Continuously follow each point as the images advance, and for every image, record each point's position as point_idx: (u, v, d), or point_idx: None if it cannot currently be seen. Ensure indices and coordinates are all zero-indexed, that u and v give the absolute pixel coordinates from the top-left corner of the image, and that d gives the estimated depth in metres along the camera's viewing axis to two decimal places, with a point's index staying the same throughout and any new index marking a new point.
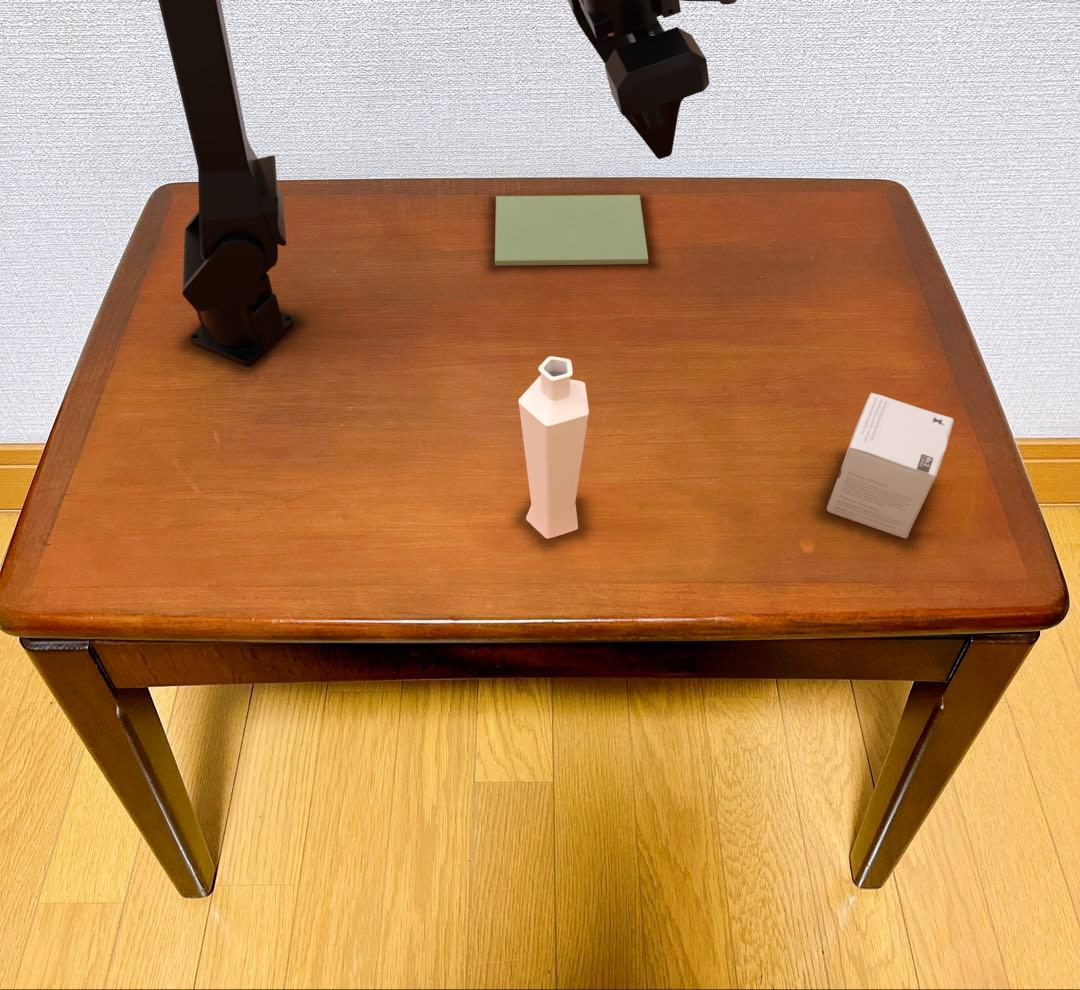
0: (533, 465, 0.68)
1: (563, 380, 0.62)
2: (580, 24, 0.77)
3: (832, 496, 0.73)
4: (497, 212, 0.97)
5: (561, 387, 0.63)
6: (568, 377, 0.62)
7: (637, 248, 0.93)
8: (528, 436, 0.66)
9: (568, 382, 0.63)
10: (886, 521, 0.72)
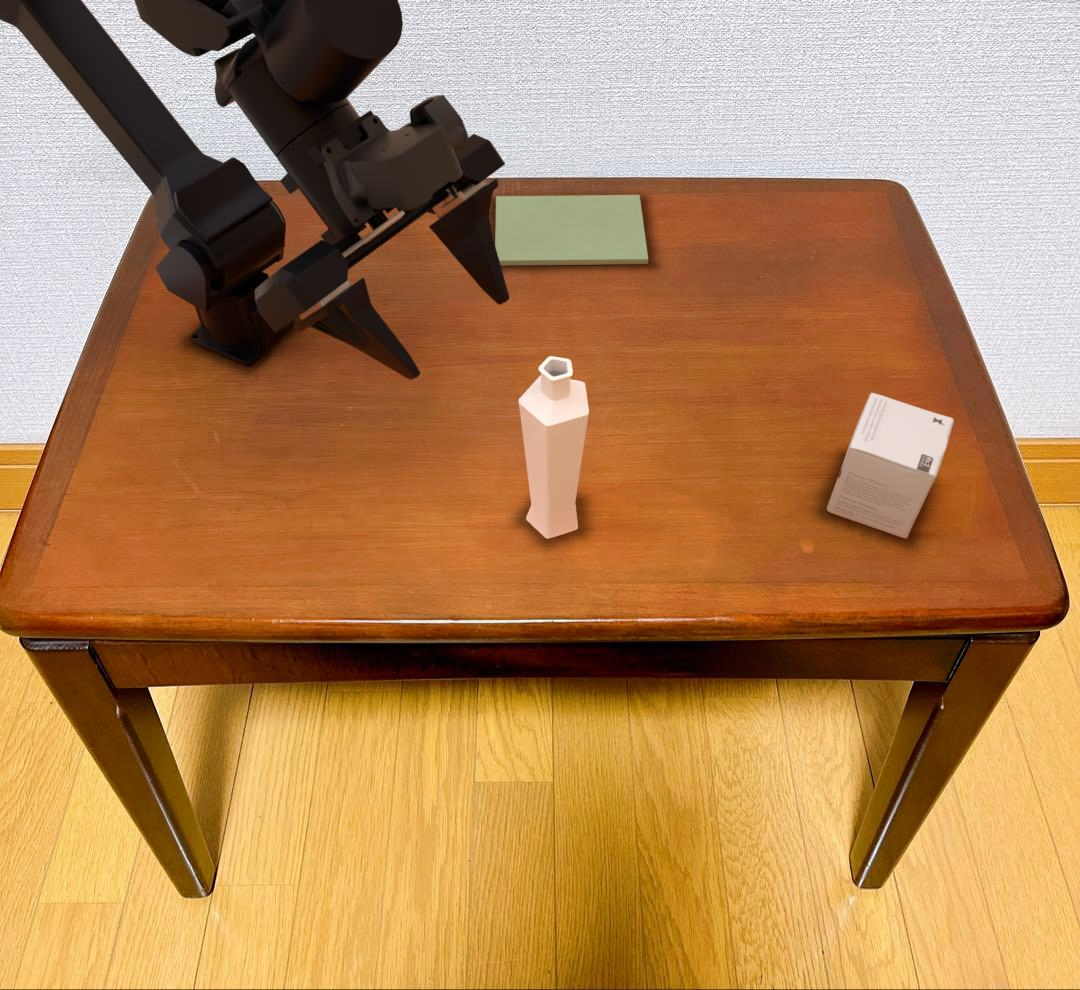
0: (533, 464, 0.68)
1: (563, 380, 0.62)
2: (431, 228, 0.70)
3: (832, 496, 0.73)
4: (497, 212, 0.97)
5: (561, 387, 0.63)
6: (568, 377, 0.62)
7: (637, 248, 0.93)
8: (528, 436, 0.66)
9: (568, 382, 0.63)
10: (886, 521, 0.72)
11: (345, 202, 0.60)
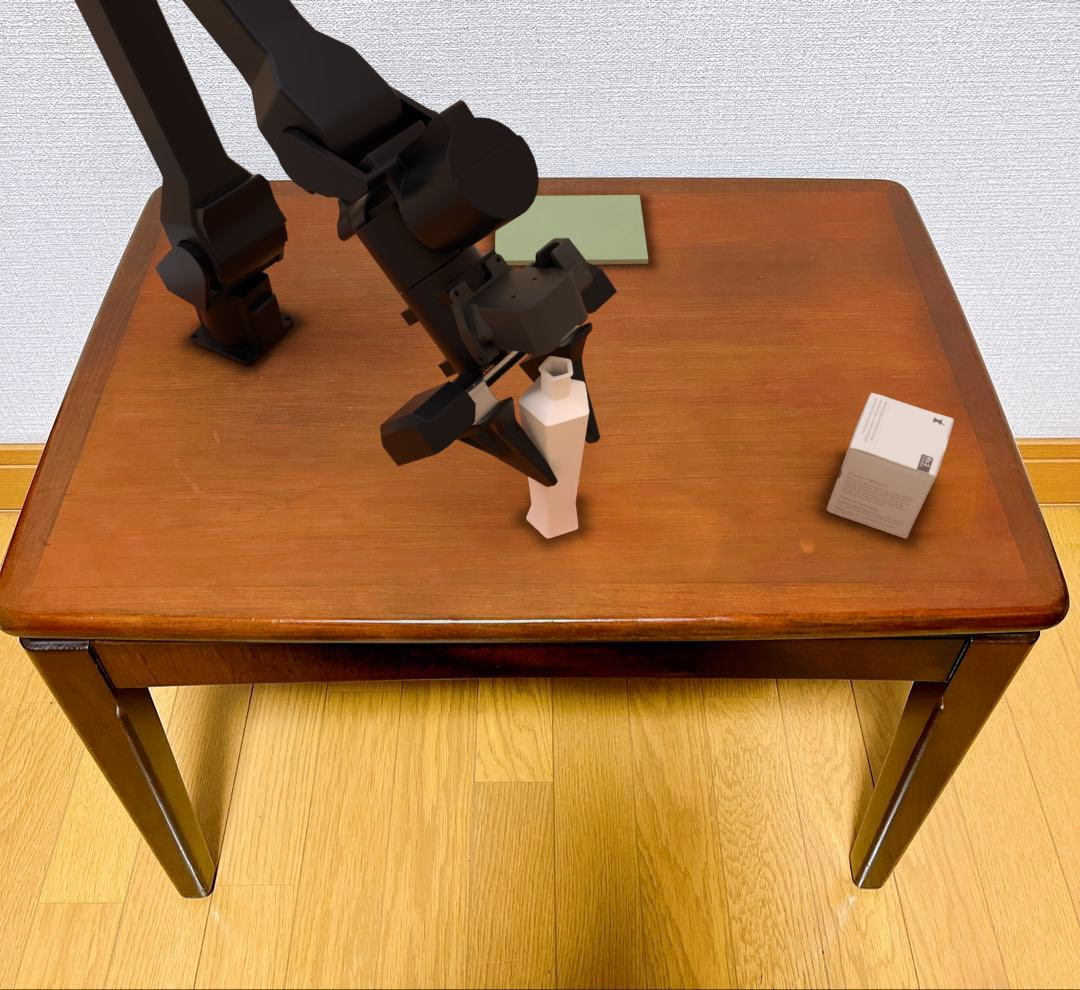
0: None
1: (563, 380, 0.62)
2: (520, 366, 0.70)
3: (832, 496, 0.73)
4: None
5: (561, 387, 0.63)
6: (568, 377, 0.62)
7: (637, 248, 0.93)
8: (528, 436, 0.66)
9: (568, 382, 0.63)
10: (886, 521, 0.72)
11: (471, 342, 0.61)
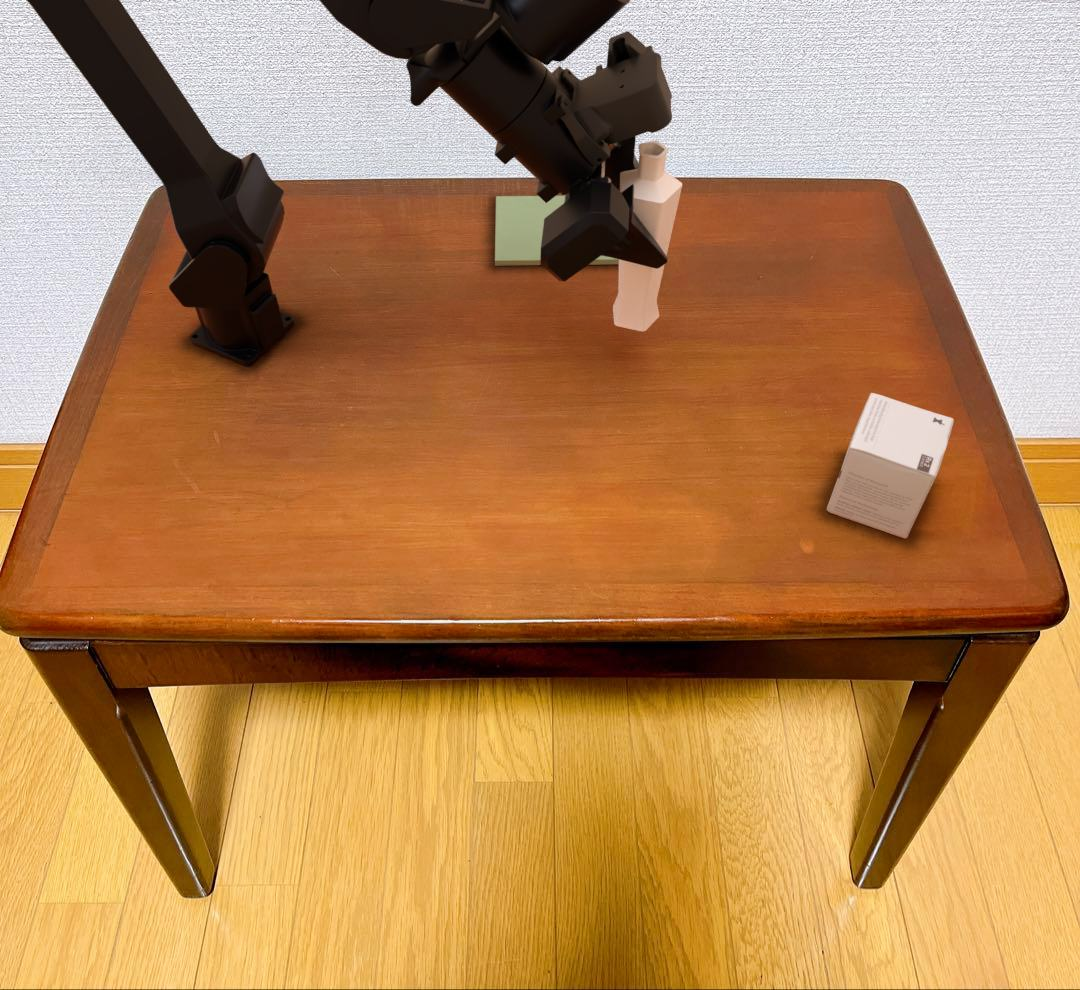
0: None
1: (664, 157, 0.70)
2: None
3: (832, 496, 0.73)
4: (497, 212, 0.97)
5: (662, 165, 0.71)
6: (666, 153, 0.70)
7: None
8: None
9: (665, 158, 0.71)
10: (886, 521, 0.72)
11: (590, 145, 0.67)
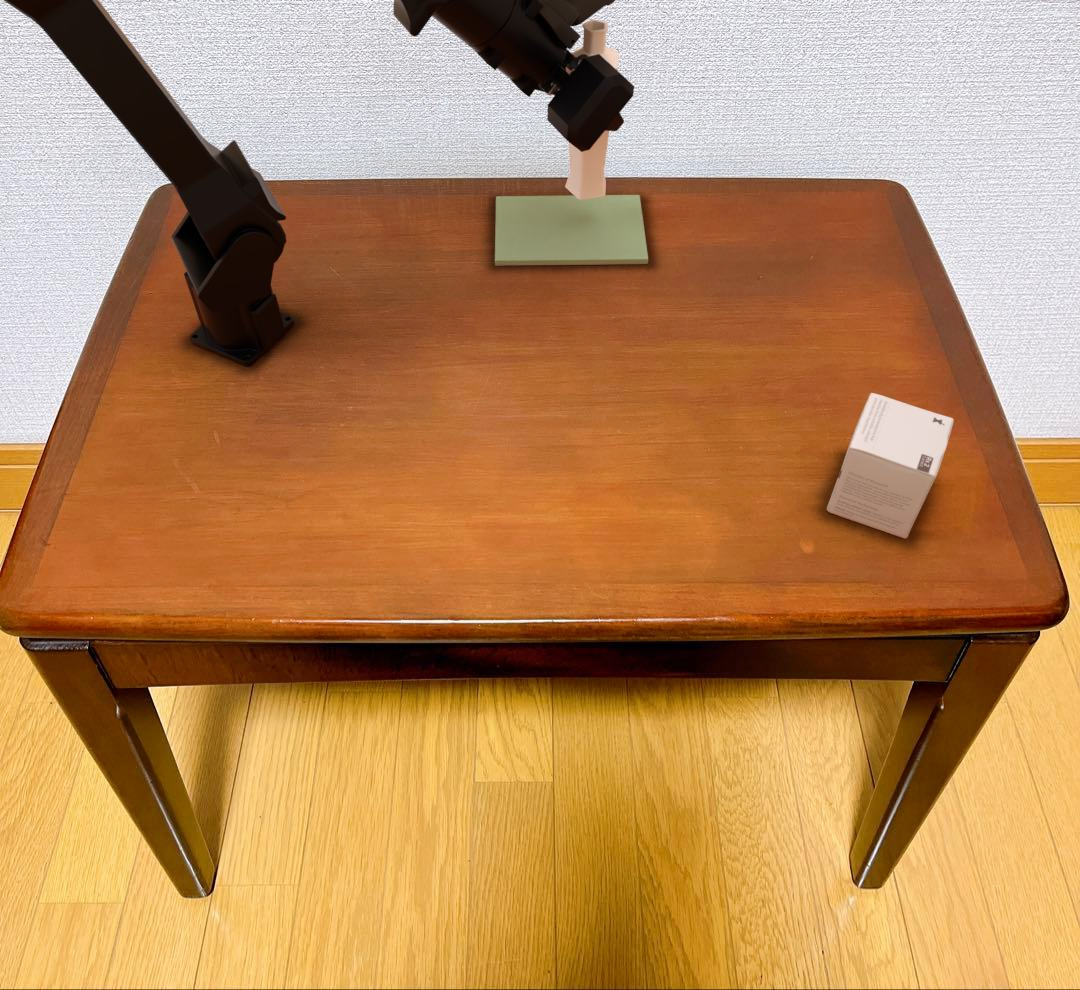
0: None
1: None
2: None
3: (832, 496, 0.73)
4: (497, 212, 0.97)
5: (605, 37, 0.82)
6: None
7: (637, 248, 0.93)
8: None
9: None
10: (886, 521, 0.72)
11: (565, 30, 0.77)
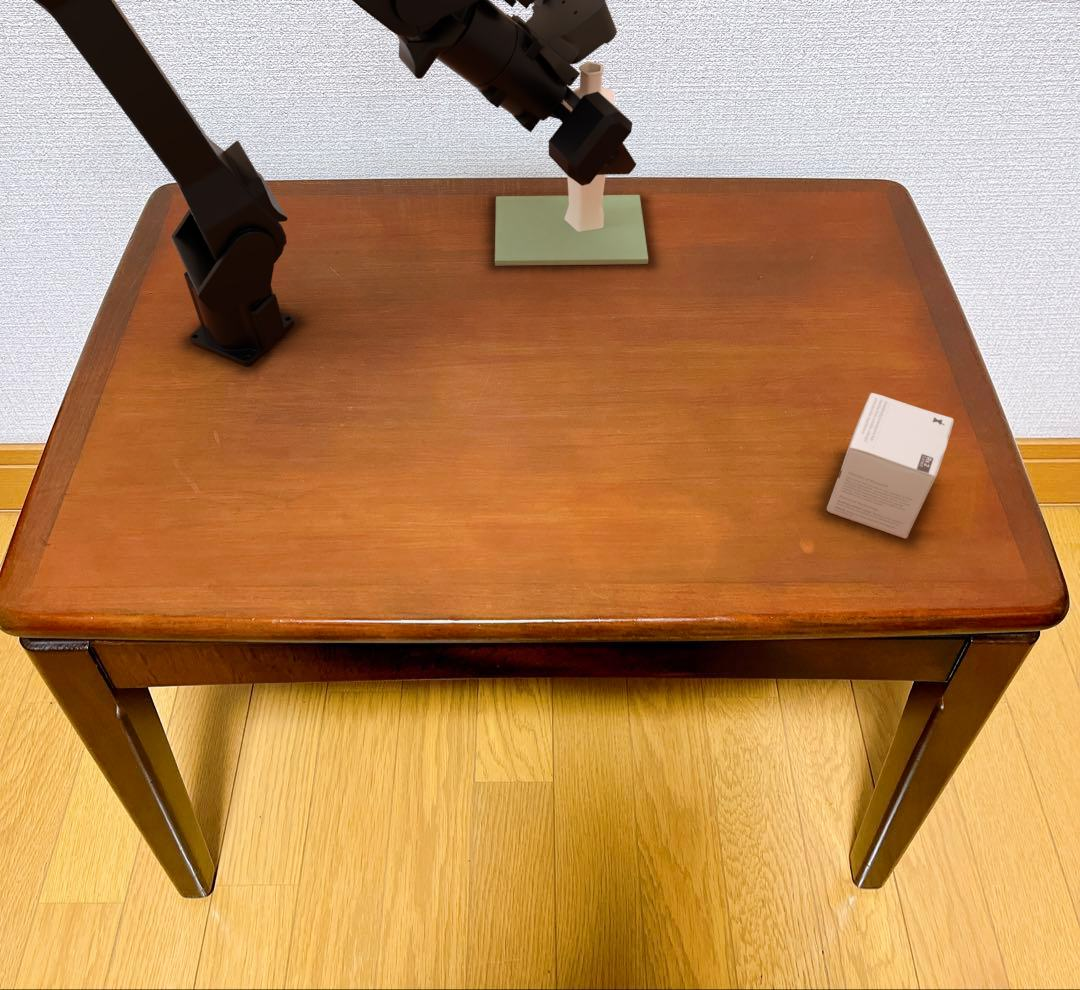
0: None
1: None
2: None
3: (832, 496, 0.73)
4: (497, 212, 0.97)
5: None
6: None
7: (637, 248, 0.93)
8: None
9: None
10: (886, 521, 0.72)
11: (565, 68, 0.80)
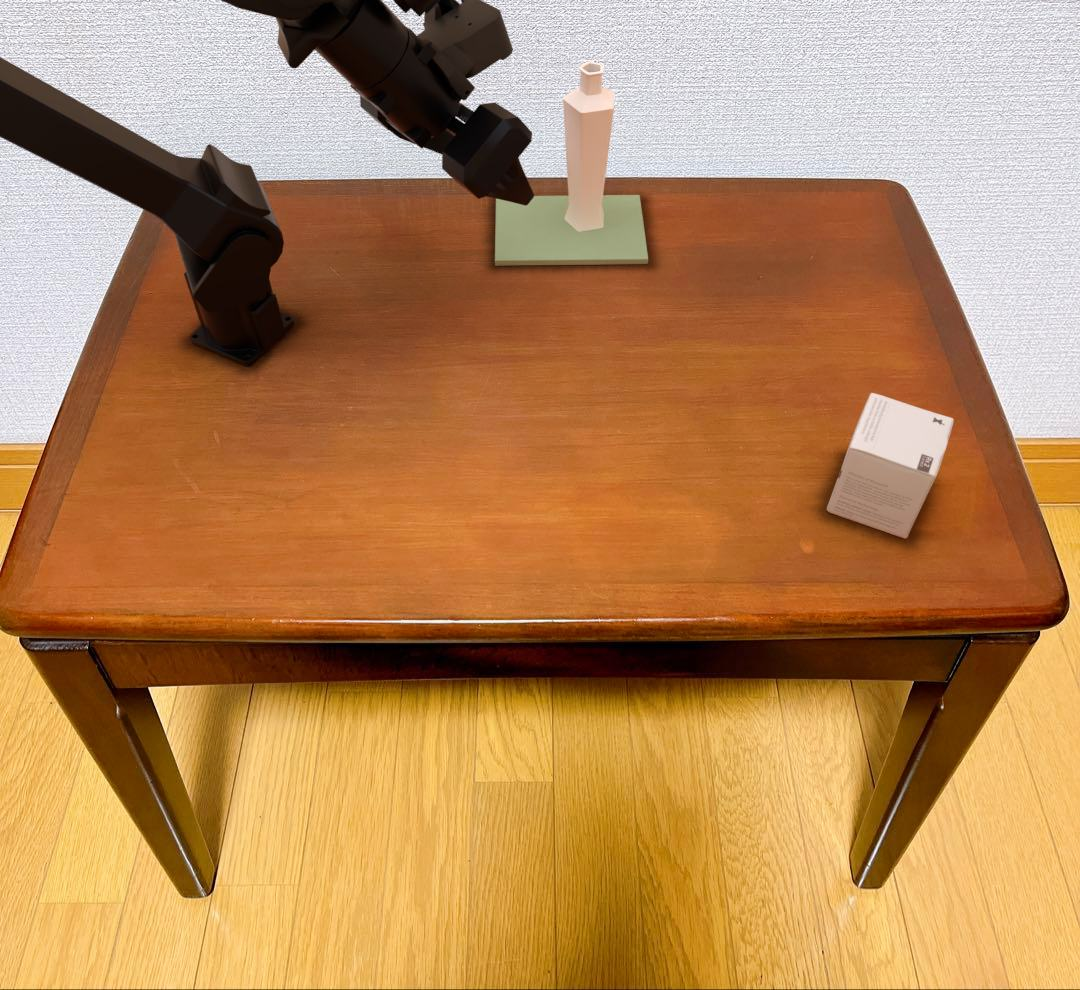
0: (591, 165, 0.90)
1: None
2: (400, 136, 0.84)
3: (832, 496, 0.73)
4: (497, 212, 0.97)
5: None
6: None
7: (637, 248, 0.93)
8: (590, 139, 0.87)
9: None
10: (886, 521, 0.72)
11: (459, 79, 0.75)
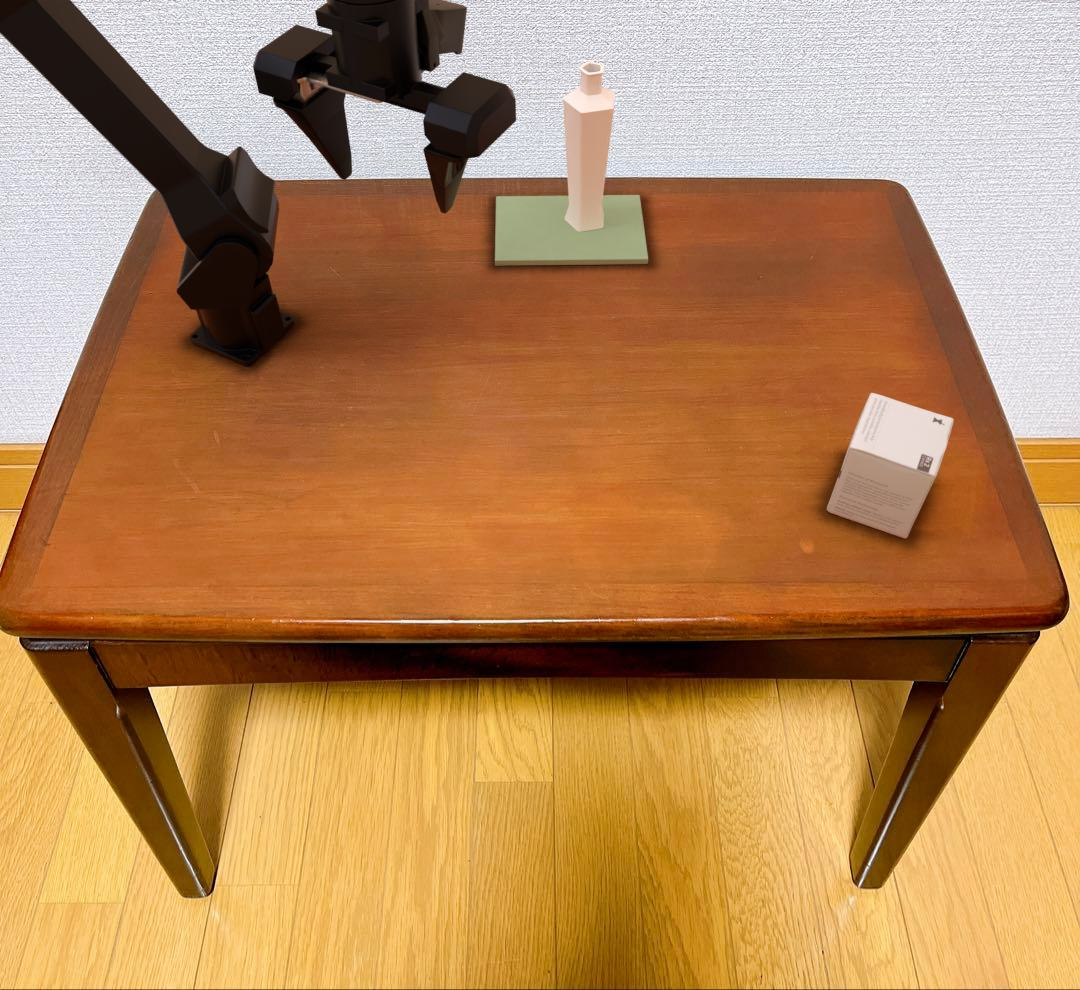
0: (591, 165, 0.90)
1: None
2: (303, 112, 0.72)
3: (832, 496, 0.73)
4: (497, 212, 0.97)
5: None
6: None
7: (637, 248, 0.93)
8: (590, 139, 0.87)
9: None
10: (886, 521, 0.72)
11: (435, 46, 0.70)
